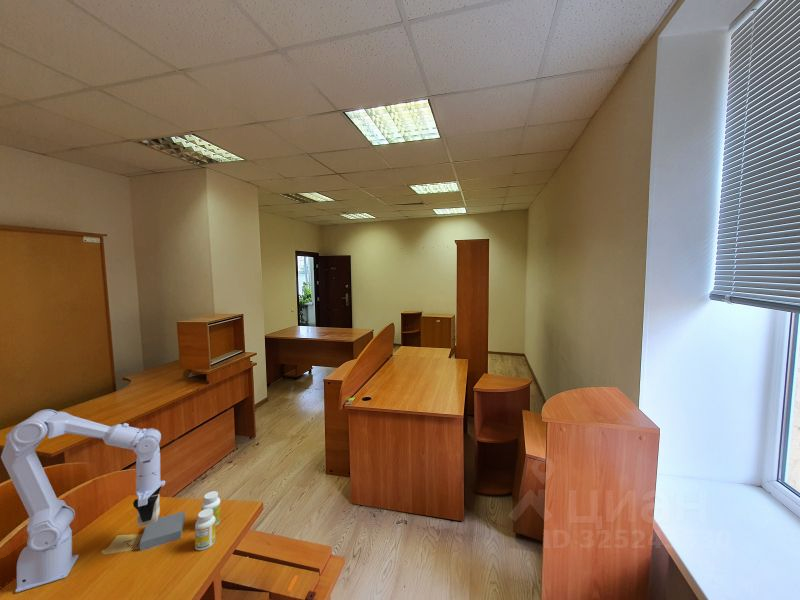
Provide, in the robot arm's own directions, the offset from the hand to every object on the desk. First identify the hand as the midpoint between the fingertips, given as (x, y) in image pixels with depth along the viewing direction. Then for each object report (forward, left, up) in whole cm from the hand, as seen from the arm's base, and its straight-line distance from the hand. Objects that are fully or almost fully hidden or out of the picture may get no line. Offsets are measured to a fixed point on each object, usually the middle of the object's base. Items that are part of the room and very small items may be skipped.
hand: (149, 515), depth 95 cm
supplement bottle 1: (+16, 0, -9) cm, 19 cm away
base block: (+3, +2, -9) cm, 10 cm away
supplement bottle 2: (+15, -9, -9) cm, 20 cm away
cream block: (0, 0, -1) cm, 1 cm away
